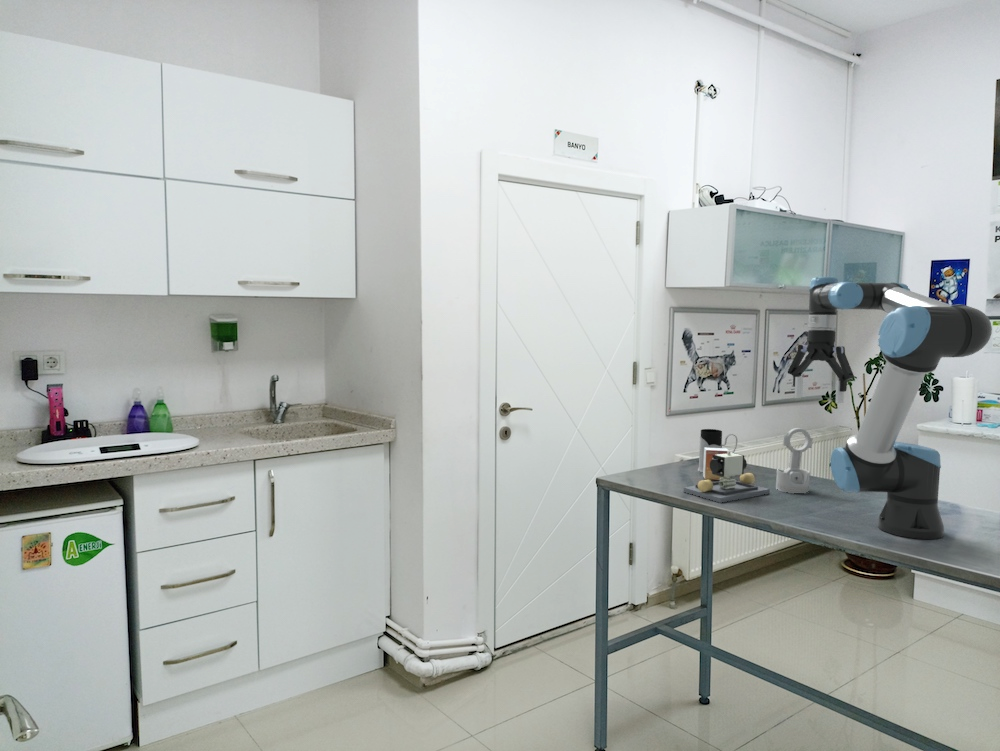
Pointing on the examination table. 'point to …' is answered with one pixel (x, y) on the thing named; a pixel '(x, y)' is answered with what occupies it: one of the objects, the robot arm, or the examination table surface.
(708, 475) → the small box
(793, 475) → the engine component
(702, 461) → the glass holder
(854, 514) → the examination table surface
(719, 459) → the pneumatic valve
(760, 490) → the mounting plate
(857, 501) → the examination table surface
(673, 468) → the examination table surface
